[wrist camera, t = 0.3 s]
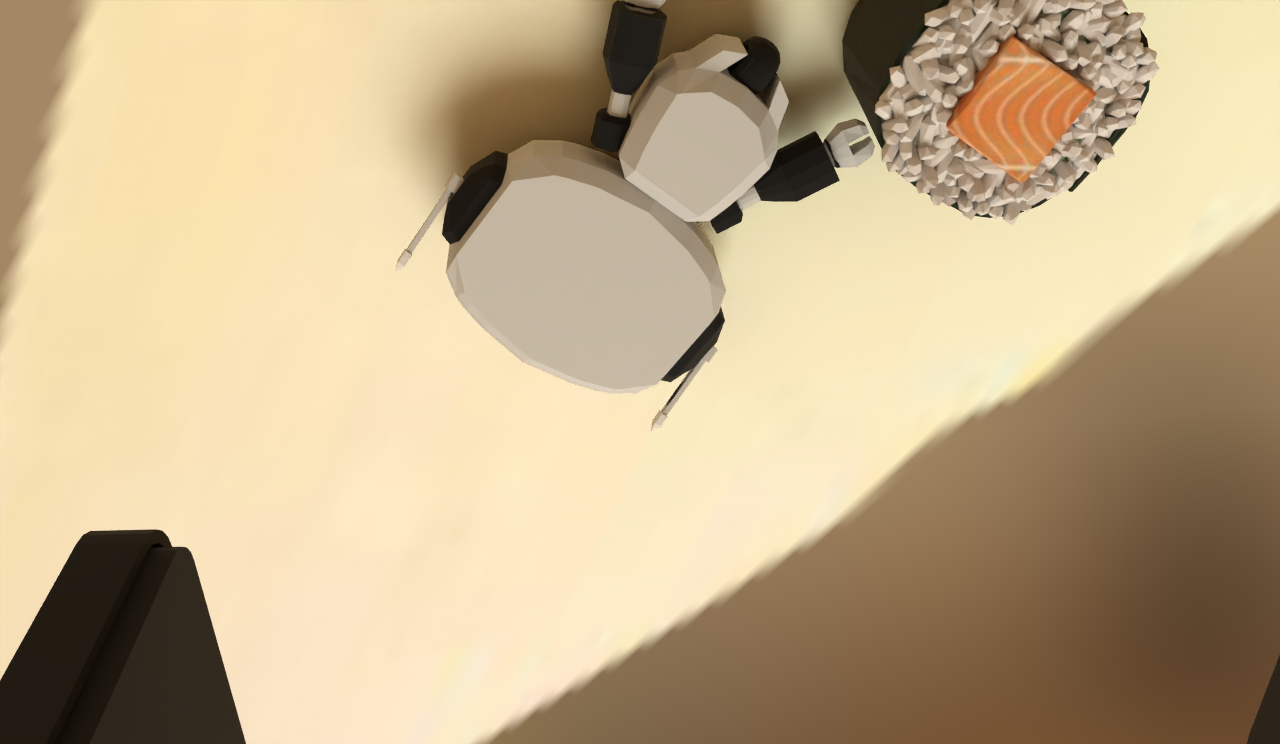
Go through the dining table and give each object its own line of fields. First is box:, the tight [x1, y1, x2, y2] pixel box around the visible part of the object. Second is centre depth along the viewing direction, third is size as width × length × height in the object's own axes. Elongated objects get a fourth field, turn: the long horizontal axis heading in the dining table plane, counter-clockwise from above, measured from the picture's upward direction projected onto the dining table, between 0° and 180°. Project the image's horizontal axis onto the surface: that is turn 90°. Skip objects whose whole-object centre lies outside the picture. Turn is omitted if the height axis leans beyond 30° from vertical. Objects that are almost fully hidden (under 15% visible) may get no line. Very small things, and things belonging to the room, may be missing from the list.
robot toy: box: [396, 0, 875, 431], centre depth 45 cm, size 12×4×15 cm
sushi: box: [842, 0, 1159, 225], centre depth 41 cm, size 8×8×8 cm
